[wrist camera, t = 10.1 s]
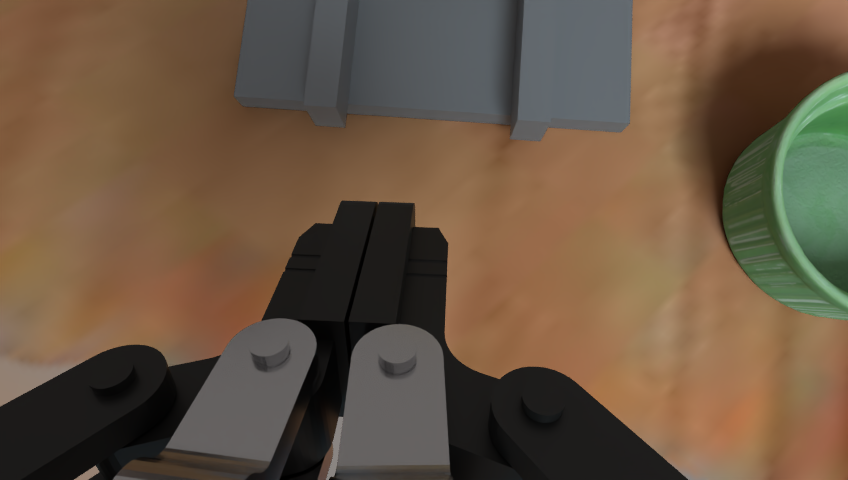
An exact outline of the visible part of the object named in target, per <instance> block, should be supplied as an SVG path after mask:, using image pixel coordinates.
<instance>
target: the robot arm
mask: <svg viewBox="0 0 848 480" xmlns="http://www.w3.org/2000/svg"><path fill="white" fill-rule="evenodd" d="M447 257H448V242H447V241H446V239H445V238H444V236H443V235H442V233H441V231H440V230H439V228H424V227H415V204H414V203H396V202H379V204H378V203H377V202H366V201H341V203H340V205H339V208H338V211H337V213H336V216H335V219H334V221H333V224H320V223H315V224H314V225H313V226H312V227H311V228H309V229H308V230H307V231H306V232H305V233H304V234H302V235H301V236H300V237H299V239H298V241H297V243H296V245H295V247H294V250H293V252H292V257H290V259H289V261H288V263H287V265H286V267H285V272H283V274H282V276H281V278H280V281H279V283H278V285H277V287H276V290H275V292H274V294H273V296H272V298H271V301H270V303H269V305H268V307H267V310H266V312H265V314H264V316H263V318H262V321H261V322H257V323H255V324H253V325H250V326H248V327H247V328H245V329H243V330H242V331H240V332H239V333H238V334H236V335H235V336H234V337H233V338H232V339H231V341H230V342H229V344H228V345H227V347H226V348H225V350H224V352H223V353H222V355H220V356H217V357H213V358H209V359H205V360H200V361H195V362H190V363H185V364H180V365H175V366H170V367H168V364H167V362H166V360H165V357H164V356H163V355H162V353H161V352H159V351H158V350H157V349H155V348H152V347H149V346H145V345H126V346H120V347H117V348H113V349H110V350H107V351H104V352H102V353H100V354H98V355H96V356H94V357H92V358H90V359H88V360H86V361H85V362H83V363H81V364H79V365H77V366H75V367H73V368H71V369H70V370H68V371H66V372H64V373H62V374H60V375H58V376H57V377H55V378H53V379H51V380H49V381H47V382H46V383H44V384H42V385H40V386H38V387H36V388H34V389H32V390H31V391H29V392H27V393H25V394H23V395H21V396H19V397H17V398H15V399H14V400H12V401H10V402H8V403H6V404H4V405H3V406H1V407H0V480H74V479H75V478H77V477H78V476H80V475H81V474H83V473H85V472H86V471H88V470H89V469H91V468H92V467H94V466H95V465H96V467H97V468H98V470H99V473H98V474H96V475H95V476H93V477H92V478H90V479H89V480H326V478H327V474H328V471H329V468H330V464H331V462H332V457H333V444H332V442H333V438H334V434H335V429H336V425H337V421H338V417H343V424H342V432H341V439H340V447H339V455H338V462H337V468H336V473H335V476H334V477H330V479H329V480H688V479H687V478H686V477H685V476H683V475H682V474H681V473H680V472H679V471H678V470H677V469H675V468H674V467H673V466H672V465H671V464H670V463H668V462H667V461H666V460H665V459H664V458H663V457H662V456H660V455H659V454H658V453H657V452H656V451H655V450H653V449H652V448H651V447H650V446H649V445H648V444H647V443H645V442H644V441H643V440H642V439H641V438H640V437H638V436H637V435H636V434H635V433H634V432H633V431H631V430H630V429H629V428H628V427H627V426H626V425H625V424H623V423H622V422H621V421H620V420H619V419H618V418H616V417H615V416H614V415H613V414H612V413H611V412H610V411H608V410H607V409H606V408H605V407H604V406H603V405H601V404H600V403H599V402H598V401H597V400H596V399H595V398H593V397H592V396H591V395H590V394H589V393H588V392H586V391H585V390H584V389H583V388H582V387H581V386H579V385H578V384H577V383H576V382H575V381H573V380H572V379H571V378H569V377H567V376H566V375H564V374H562V373H560V372H557V371H555V370H552V369H548V368H543V367H523V368H519V369H516V370H513V371H511V372H509V373H507V374H506V375H504V376H503V377H502V378H501V379H497V378H494V377H491V376H488V375H485V374H482V373H479V372H477V371H474V370H472V369H470V368H468V367H467V366H465V365H464V364H462V363H461V362H460V361H458V360H457V359H456V358H455V357H454V356H453V354H452V353H451V352H450V350H449V348H448V346H447V344H446V341H445V333H444V331H445V306H446V282H447Z"/></svg>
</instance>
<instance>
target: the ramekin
mask: <svg viewBox="0 0 848 480" xmlns="http://www.w3.org/2000/svg"><path fill="white" fill-rule="evenodd" d="M723 224H724V229H725V233H726V237H727V240H728V242H729V245H730V248H731V249H732V252H733V255H734V256H735V258H736V259H737V261H738V263H739V265H740V266H741V267H742V269H743V270H744V271H745V273H746V274H747V275H748V276H749V278H750V279H751V280H752V281H753V282H754V283H755V284H756V285H757V286H758V287H759V288H760V289H762V290H763V291H764V292H765V293H767V294H768V295H769V296H771V297H772V298H774V299H775V300H777V301H779V302H780V303H782V304H784V305H786V306H788V307H790V308H793V309H795V310H797V311H799V312H802V313H806V314H810V315H813V316H819V317H827V318H833V319H841V320H848V72H846V73H843V74H840V75H838V76H836V77H834V78H832V79H830V80H829V81H827V82H825V83H823V84H822V85H820V86H819V87H818V88H816V89H815V90H814V91H812V92H811V93H810V94H808V95H807V96H806V97H805V98H804V99H803V100H802V101H800V102H799V103H798V104H797V106H796V107H795V108H794V109H793V110H792V111H791V112H790V113H789V114H788V115H787V116H786V118H784V119H783V120H781V121H780V122H779V123H777V124H776V125H775V126H773V127H772V128H770V129H769V130H768V131H766V132H765V133H764V134H762V135H761V136H759V137H758V138H757V139H755V140H754V141H753V142H752V143H751V144H750V145H749V146H748V147H747V148H746V149H745V150H744V151H743V152H742V153H741V155H740V156H739V157H738V159H737V160H736V162H735V163H734V165H733V167H732V169H731V171H730V173H729V175H728V178H727V181H726V185H725V188H724V196H723Z"/></svg>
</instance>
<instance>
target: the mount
mask: <svg viewBox="0 0 848 480" xmlns="http://www.w3.org/2000/svg"><path fill="white" fill-rule="evenodd" d="M632 3H633V0H248V2H247V9H246V16H245V23H244V29H243V36H242V43H241V50H240V57H239V64H238V71H237V78H236V85H235V91H234V97H235V98H236V99H237V100H238V102H239V103H240V104H241V105H242V106H245V107H260V108H274V109H289V110H303V111H307V112H308V114H309V115H310V117H311V119H312V120H313V122H314V123H315V125H316V126H329V127H343V128H345V126H346V117H347V114H361V115H376V116H391V117H405V118H420V119H434V120H449V121H463V122H478V123H492V124H507V125H511V128H510V139H515V140H529V141H541V139H542V137H543V135H544V134H545V132H546V130H547V128H548V127H550V128H565V129H579V130H594V131H608V132H622V131H623V130H624V129H625V128H626V127H627V126H628V125H629V124H630V92H631V48H632Z"/></svg>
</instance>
